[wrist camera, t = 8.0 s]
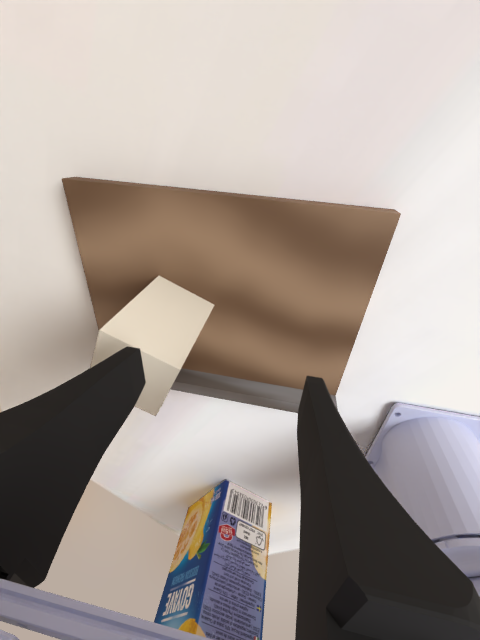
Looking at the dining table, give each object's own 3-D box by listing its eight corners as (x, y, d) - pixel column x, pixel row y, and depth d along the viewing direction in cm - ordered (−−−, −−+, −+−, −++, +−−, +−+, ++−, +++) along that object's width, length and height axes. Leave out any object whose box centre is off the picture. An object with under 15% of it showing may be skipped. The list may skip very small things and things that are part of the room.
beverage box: (188, 507, 40) (94, 818, 21) (226, 478, 34) (141, 869, 16) (228, 527, 41) (172, 840, 22) (272, 502, 35) (244, 895, 17)
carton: (158, 275, 20) (99, 329, 14) (214, 304, 20) (180, 369, 14) (141, 323, 22) (85, 386, 16) (191, 348, 23) (154, 419, 17)
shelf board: (330, 394, 24) (333, 421, 22) (114, 356, 26) (96, 377, 24) (394, 209, 16) (411, 220, 14) (74, 177, 18) (41, 181, 16)
